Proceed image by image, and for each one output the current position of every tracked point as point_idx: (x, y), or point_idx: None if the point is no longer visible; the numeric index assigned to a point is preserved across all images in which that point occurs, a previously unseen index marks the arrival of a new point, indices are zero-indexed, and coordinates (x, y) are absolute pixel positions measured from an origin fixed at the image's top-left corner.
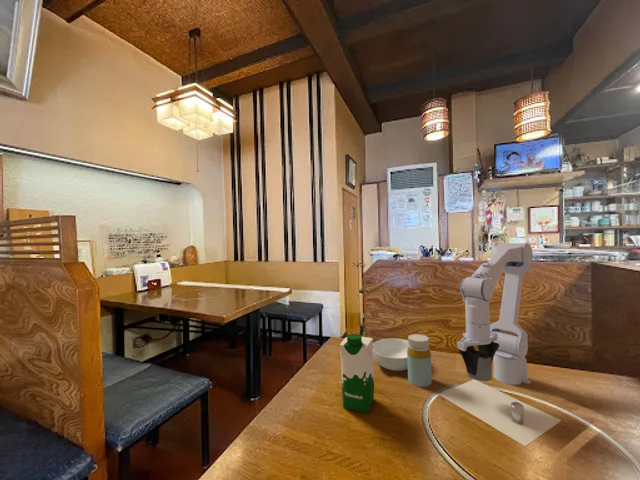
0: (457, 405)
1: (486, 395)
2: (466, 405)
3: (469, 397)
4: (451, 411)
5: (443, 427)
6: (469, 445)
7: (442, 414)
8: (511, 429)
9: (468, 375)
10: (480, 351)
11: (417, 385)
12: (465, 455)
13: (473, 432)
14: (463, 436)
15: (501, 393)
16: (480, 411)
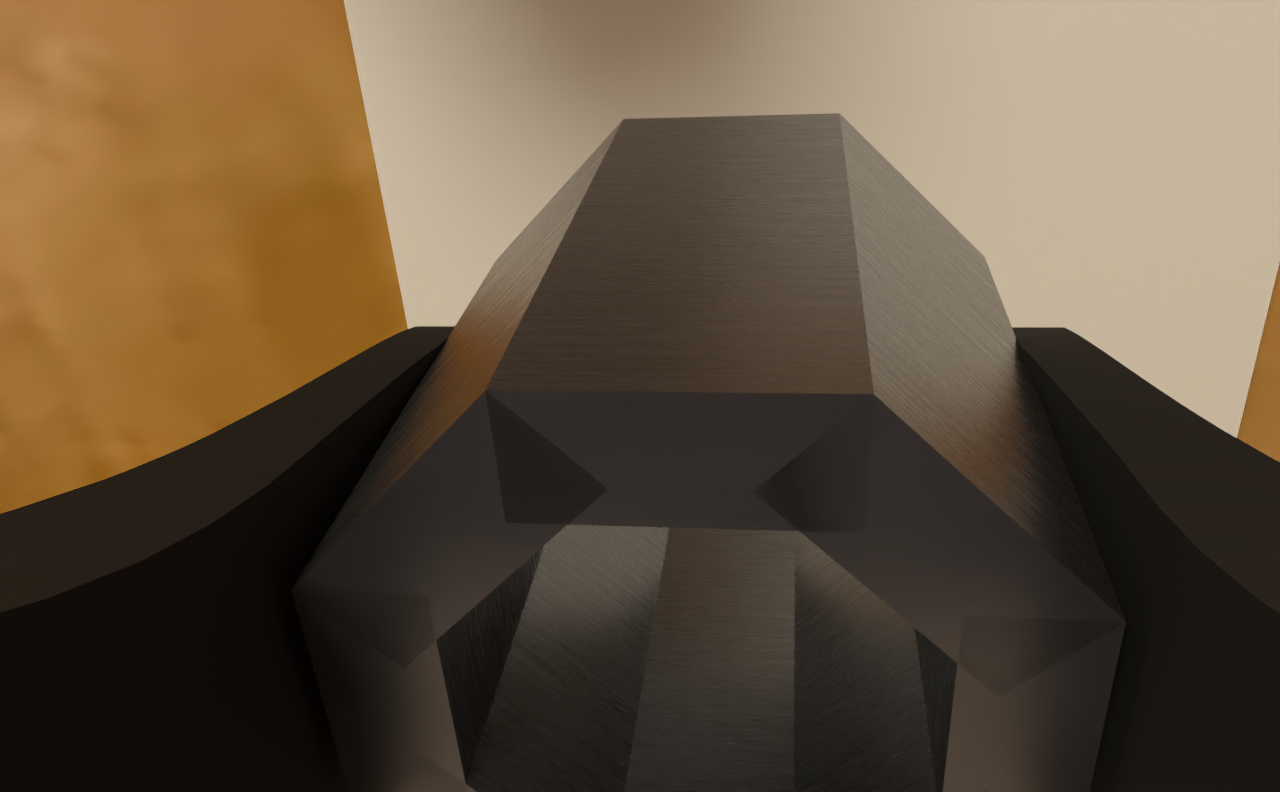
0: (360, 82)
1: (988, 126)
2: (482, 142)
3: (696, 29)
4: (284, 46)
5: (11, 203)
6: (115, 466)
7: (129, 32)
8: None
9: (492, 267)
10: (968, 679)
11: None
12: (12, 507)
13: (269, 394)
14: (136, 380)
15: (1250, 210)
16: None
